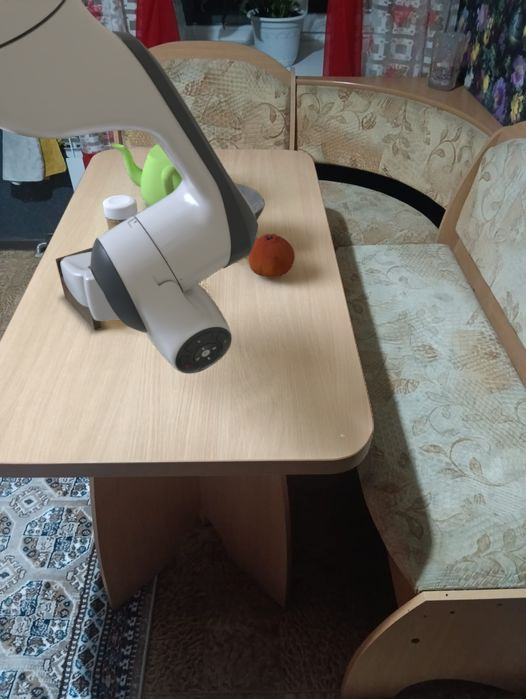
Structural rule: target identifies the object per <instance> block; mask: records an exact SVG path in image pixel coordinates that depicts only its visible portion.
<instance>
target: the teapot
mask: <svg viewBox="0 0 526 699" xmlns="http://www.w3.org/2000/svg"><path fill="white" fill-rule="evenodd" d="M109 145H110V146H111V147H113V148H114V149H115V150H117V151H118V152H119V153H120V155H121V156H122V159H123V161H124V165H125V169H126V171H127V174H128V177H129V179H130V180H131V181H132V183H133V184H134V185H135V186H137V187H139V188H140V195H141V197H142V200H143V201H144V203H145V204H146V205H147V206H148V207H149V206H151V205H153V204H154V203H156V202H158V201H159V200H161V199H163V198H164V197H166V196H168V195H169V194H171V193H172V192H173V191H174V190H175V189H176V188H177V187H178V186H179V184H180V183H181V181H182V177H181V176H180V174H179V173H178V171H177V170H176V168H175V167H174V166H173V164H172V163H171V161H170V160H169V158H168V157H167V156H166V154H165V153H164V151H163V150H162V148H161V147H160V146H159V144H158V143H156V144H155V145H154V146H153V147H151V148H150V149H149V152H148V154H147V155H146V158H145V162H144V165H143V168H141V167H139V166H138V165H137V164H136V162H135V160H134V158H133V155H132V153H131V151H130V149H129V148H128V147H127V146H125V145H123V144H120V143H113V142H112V143H109ZM219 160H220V158H219ZM220 161H221V160H220Z"/></svg>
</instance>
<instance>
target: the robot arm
mask: <svg viewBox="0 0 526 699" xmlns="http://www.w3.org/2000/svg"><path fill="white" fill-rule="evenodd" d="M200 126H201V125H200V124H199V123H198V121H197V119H196V118H195V116H194V114H193V112H192V111H191V110H190V108H189V106H188V105H187V103H186V102H185V99H184V98H183V96H182V95H181V94H180V92H179V90H178V89H177V87H176V85H175V84H174V83H173V81H172V80H171V78H170V76H169V75H168V73H167V72H166V70H165V69H164V68H163V66H162V64H161V63H160V62H159V61H158V60H157V58H156V57H155V55H154V54H153V53H152V52H151V51H150V50H149V49H148V48H147V46H145V44H144V43H142V42H141V40H139V39H138V37H136V36H135V35H133V33H131V32H128V31H119V30H110V29H109V28H108V27H106V25H103V24H102V23H101V22H100V21H99V20H98V19H97V18H96V17H95V16H94V15H93V14H92V13H91V11H89V9H88V8H87V7H86V6H85V4H84V2H83V1H82V0H0V130H2V131H5V132H7V133H10V134H14V135H18V136H22V137H26V138H33V139H41V140H61V139H63V140H64V139H70V138H76V137H80V136H86V135H91V134H98V133H104V132H116V131H117V132H118V131H136V132H142V133H147V134H149V135H150V136H152V137H153V139H154V140H155V142H156V144H159V146H160V147H161V148H162V150H163V151H164V153H165V154H166V156H167V157H168V158H169V160H170V161H171V163H172V164H173V166H174V167H175V168H176V170H177V171H178V173H179V174H180V176H181V177H182V181H181V183H180V184H179V186H178V187H177V188H176V189H175V190H174V191H173V192H172V193H171V194H169V195H168V196H166V197H164V198H163V199H161V200H159V201H158V202H156V203H154V204H153V205H151V206H148V207H146V208H144V209H143V210H141V211H140V212H137V214H136V215H135V216H132V217H130V218H128V219H127V220H125V221H123V222H122V223H120V224H118V225H117V226H115V227H113V228H112V229H110V230H108V229H107V231H105V232H104V233H102V234H100V235H99V236H97V237H96V238H95V240H94V242H93V244H92V247H93V248H92V247H91V248H92V251H91V252H86V253H82V254H77V255H73V256H68V257H65V258H64V259H63V260H62V261H61V263H60V265H61V270H62V274H63V278H64V281H65V284H66V286H67V287H68V289H69V291H70V292H71V294H72V295H73V296H74V298H75V299H76V300H77V301H78V302H79V303H80V304H82V305H83V306H86V307H89V309H90V312H91V315H92V317H93V318H94V319H95V320H97V321H100V322H103V321H104V322H105V321H117V320H118V321H121V322H122V323H123V324H124V325H125V326H126V327H128V328H131V329H133V330H135V331H138V332H140V333H145V335H146V336H147V338H148V339H149V340H150V342H151V344H152V345H153V347H154V348H155V349H156V351H158V353H159V354H160V355H161V356H162V357H163V359H165V360H166V361H167V363H168V364H170V366H171V367H172V368H174V369H175V370H176V371H177V372H179V373H181V374H189V375H190V374H197V373H200V372H202V371H205V370H207V369H209V368H210V367H212V366H213V365H215V364H216V363H217V362H219V361H221V359H223V357H224V356H225V355H226V354H227V353H228V351H229V349H230V348H231V345H232V342H233V334H232V330H231V328H230V325H229V324H228V321H227V320H226V318H225V316H224V314H223V313H222V310H221V309H220V308H219V306H218V304H217V303H216V301H214V299H213V297H212V296H211V295H210V293H209V292H208V291H207V290H206V289H205V288H204V287H203V286H202V285H201V284H200V283H202V282H203V281H205V280H206V279H208V278H209V277H211V276H213V275H214V274H216V273H217V272H219V271H221V270H223V269H226V268H228V267H229V266H232V265H234V264H236V263H238V262H241V260H244V259H246V258H248V256H249V255H250V253H251V251H252V248H253V245H254V242H255V239H257V235H258V232H259V231H258V230H259V223H258V220H256V216H255V213H254V211H253V209H252V207H251V205H250V203H249V201H248V200H247V198H246V197H245V195H244V194H243V193H242V191H241V190H240V189H239V188H238V187H237V186H236V185H235V183H236V182H234V180H233V179H232V178H231V176H230V175H229V173H228V172H227V170H226V168H225V167H224V164H223V163H222V161H221V160H219V159H220V158H219V156H218V154H217V153H216V151H215V149H214V148H213V146H212V144H211V143H210V141H209V140H208V138H207V137H206V134H205V132H204V131H203V130H202V128H201V127H200Z"/></svg>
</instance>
